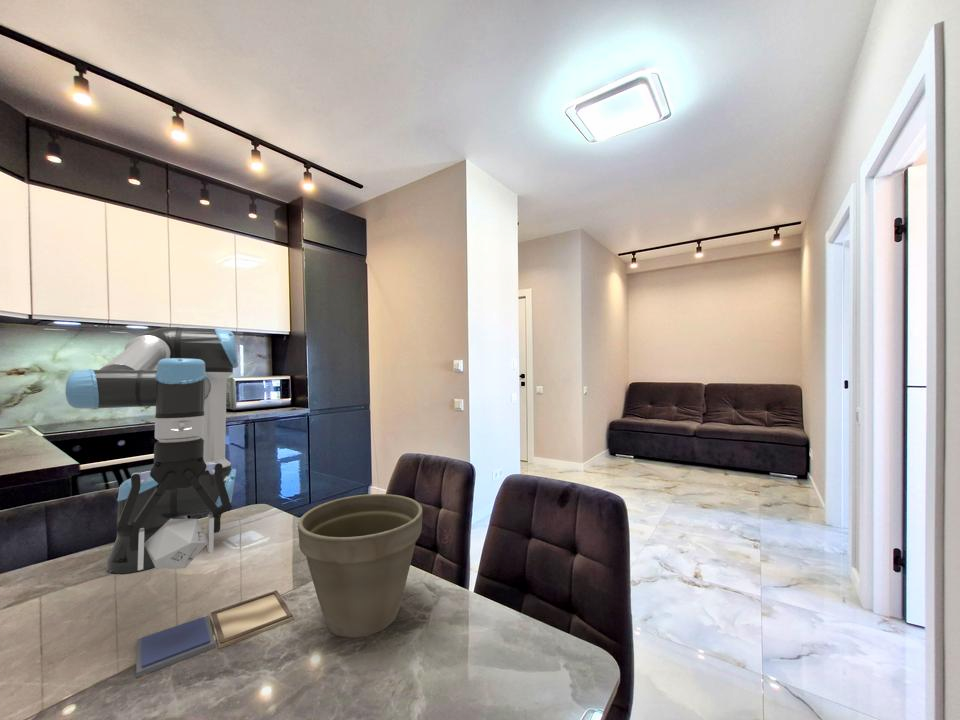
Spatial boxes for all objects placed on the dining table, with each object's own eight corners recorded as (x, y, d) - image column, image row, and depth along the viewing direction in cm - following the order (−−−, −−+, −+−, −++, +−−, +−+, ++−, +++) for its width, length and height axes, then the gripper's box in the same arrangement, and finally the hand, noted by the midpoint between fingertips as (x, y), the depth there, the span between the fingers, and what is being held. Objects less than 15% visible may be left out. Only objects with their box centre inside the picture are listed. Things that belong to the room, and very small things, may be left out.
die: (155, 586, 67) (199, 531, 71) (120, 556, 69) (165, 504, 72) (188, 580, 75) (227, 531, 78) (156, 553, 77) (195, 507, 80)
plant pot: (368, 678, 65) (369, 545, 66) (267, 637, 75) (269, 522, 76) (444, 599, 87) (443, 501, 88) (358, 576, 98) (359, 488, 99)
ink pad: (136, 644, 73) (136, 637, 73) (207, 619, 81) (207, 613, 81) (136, 677, 65) (136, 670, 65) (215, 647, 72) (215, 640, 72)
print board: (209, 616, 82) (209, 612, 82) (277, 593, 90) (277, 589, 90) (219, 648, 72) (219, 643, 72) (294, 619, 80) (294, 615, 80)
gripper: (96, 448, 64) (91, 587, 63) (250, 434, 79) (248, 547, 78) (100, 443, 70) (95, 570, 69) (243, 431, 85) (241, 536, 84)
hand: (176, 558), depth 74 cm, fingers closed on die, 10 cm apart
